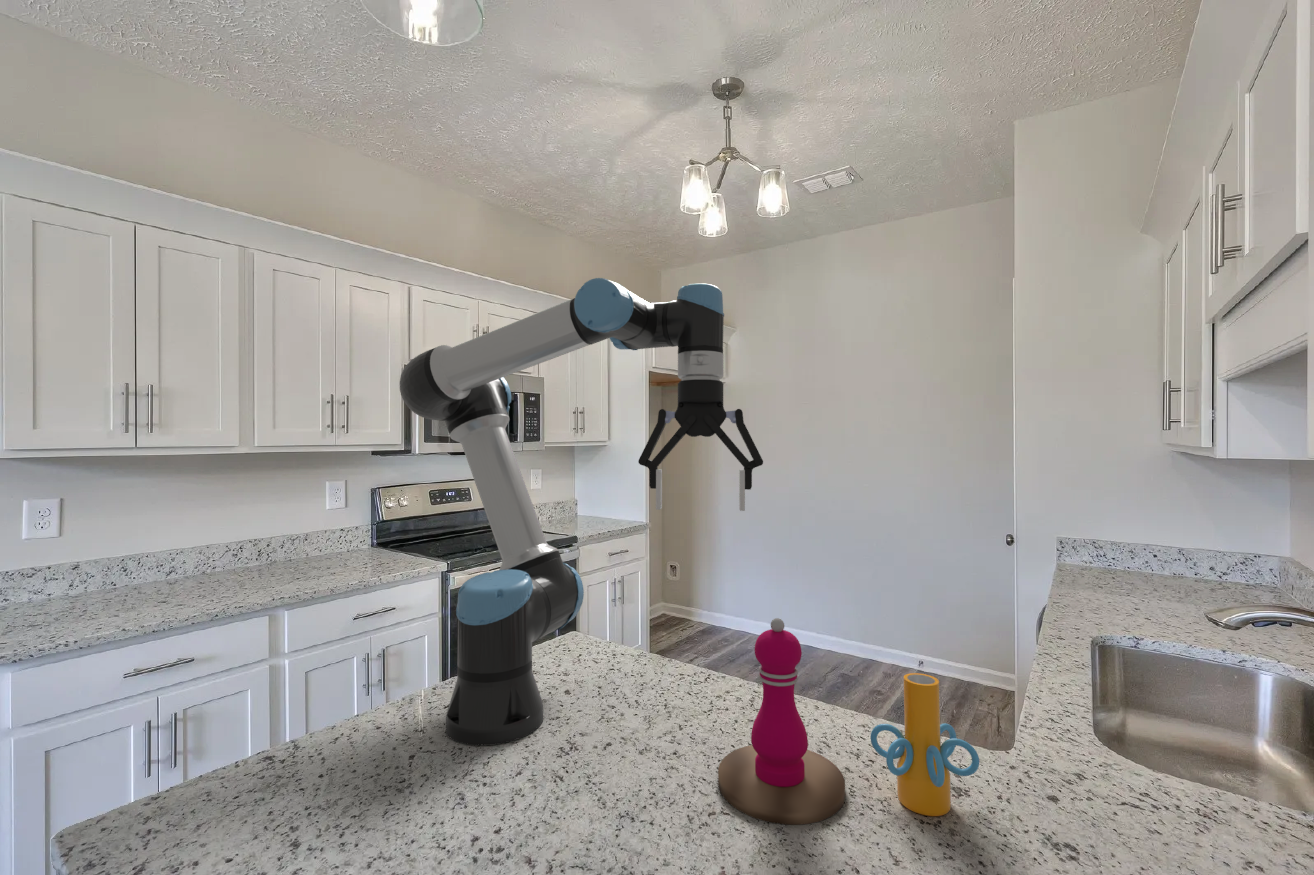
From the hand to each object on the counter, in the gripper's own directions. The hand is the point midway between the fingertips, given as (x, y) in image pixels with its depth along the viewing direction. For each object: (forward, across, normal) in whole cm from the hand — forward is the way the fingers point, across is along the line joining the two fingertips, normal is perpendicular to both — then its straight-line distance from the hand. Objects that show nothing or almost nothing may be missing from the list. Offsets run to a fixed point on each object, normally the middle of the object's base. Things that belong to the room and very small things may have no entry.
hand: (700, 509), depth 96 cm
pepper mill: (+32, +11, -19) cm, 39 cm away
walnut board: (+34, +11, -19) cm, 40 cm away
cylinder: (+34, +28, -21) cm, 49 cm away
